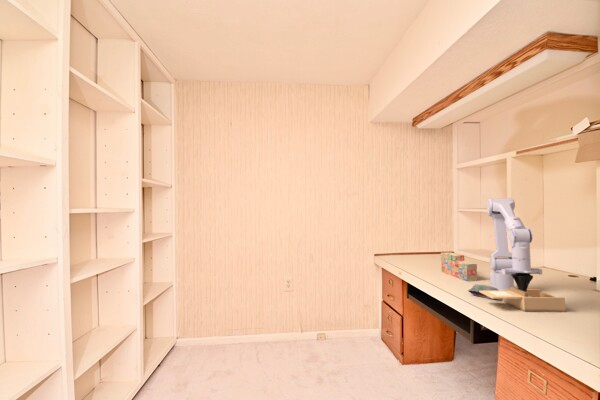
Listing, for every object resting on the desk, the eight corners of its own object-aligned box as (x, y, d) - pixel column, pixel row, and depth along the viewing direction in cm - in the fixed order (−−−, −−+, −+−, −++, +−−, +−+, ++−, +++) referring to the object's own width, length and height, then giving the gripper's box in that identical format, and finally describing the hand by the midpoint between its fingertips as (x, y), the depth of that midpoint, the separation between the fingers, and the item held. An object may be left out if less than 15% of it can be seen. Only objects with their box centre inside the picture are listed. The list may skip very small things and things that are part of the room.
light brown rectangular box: (503, 301, 112) (503, 289, 113) (540, 301, 112) (539, 289, 112) (524, 311, 101) (524, 298, 102) (565, 311, 101) (564, 297, 101)
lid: (479, 291, 112) (479, 286, 112) (515, 291, 111) (515, 286, 111) (492, 298, 103) (492, 293, 103) (532, 298, 103) (531, 292, 103)
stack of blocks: (477, 281, 144) (476, 258, 144) (467, 281, 143) (466, 258, 143) (450, 271, 165) (449, 251, 165) (441, 272, 164) (440, 252, 165)
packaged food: (474, 291, 127) (473, 281, 127) (504, 297, 118) (504, 286, 118) (467, 295, 121) (467, 285, 121) (499, 302, 112) (498, 290, 112)
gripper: (509, 260, 104) (511, 295, 103) (548, 259, 103) (550, 295, 103) (497, 256, 111) (498, 289, 110) (533, 256, 110) (534, 289, 110)
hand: (522, 292), depth 107 cm, fingers closed
